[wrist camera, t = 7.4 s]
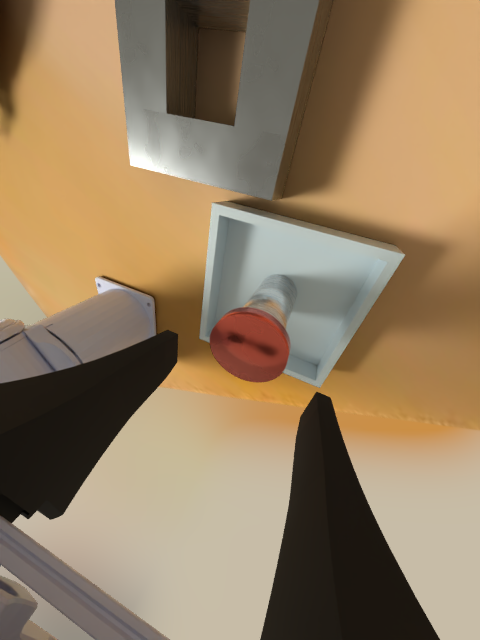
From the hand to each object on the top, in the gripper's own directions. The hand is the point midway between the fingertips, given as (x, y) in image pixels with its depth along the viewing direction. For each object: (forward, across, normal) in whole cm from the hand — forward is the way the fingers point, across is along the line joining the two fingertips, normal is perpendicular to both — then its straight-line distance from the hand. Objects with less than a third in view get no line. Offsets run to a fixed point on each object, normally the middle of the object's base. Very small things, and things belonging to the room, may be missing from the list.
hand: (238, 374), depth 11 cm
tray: (+10, 0, 0) cm, 10 cm away
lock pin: (+9, 0, 0) cm, 9 cm away
